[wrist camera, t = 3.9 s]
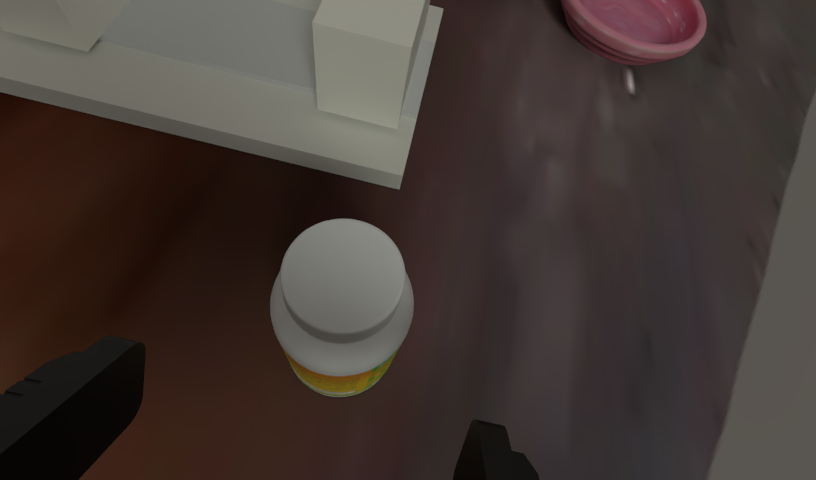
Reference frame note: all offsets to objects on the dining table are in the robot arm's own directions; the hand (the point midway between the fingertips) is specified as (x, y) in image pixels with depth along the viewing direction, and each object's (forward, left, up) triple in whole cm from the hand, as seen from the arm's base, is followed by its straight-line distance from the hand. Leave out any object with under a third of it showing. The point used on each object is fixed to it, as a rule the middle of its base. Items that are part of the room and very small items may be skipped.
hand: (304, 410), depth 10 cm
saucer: (+16, +36, -12) cm, 41 cm away
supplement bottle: (0, +4, -11) cm, 12 cm away
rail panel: (-12, +22, -11) cm, 28 cm away
